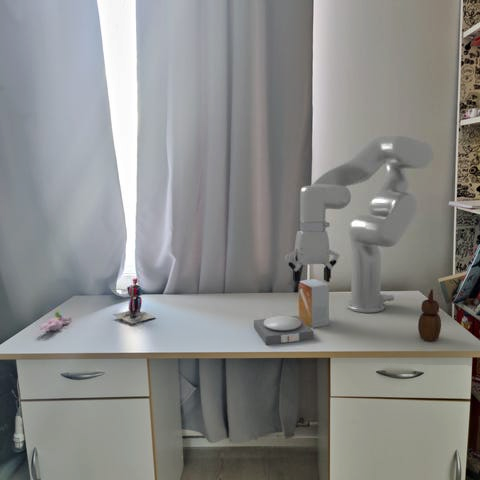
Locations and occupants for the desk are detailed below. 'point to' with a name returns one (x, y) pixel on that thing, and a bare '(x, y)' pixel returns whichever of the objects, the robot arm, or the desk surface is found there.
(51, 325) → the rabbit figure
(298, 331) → the scale
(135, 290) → the statue
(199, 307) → the desk surface
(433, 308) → the wooden figurine
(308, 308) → the small box
